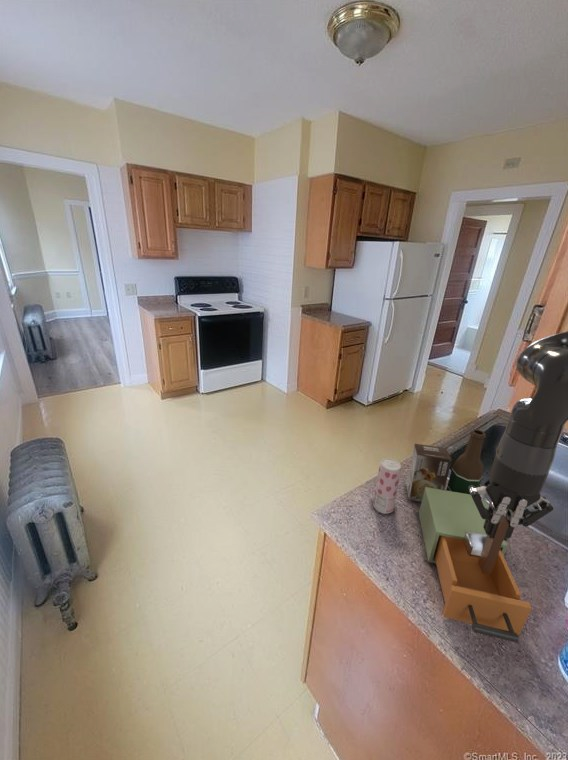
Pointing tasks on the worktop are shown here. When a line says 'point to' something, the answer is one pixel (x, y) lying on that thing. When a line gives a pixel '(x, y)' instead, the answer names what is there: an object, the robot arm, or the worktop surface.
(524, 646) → the worktop surface
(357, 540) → the worktop surface
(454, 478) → the beer bottle
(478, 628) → the drawer
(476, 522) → the cabinet
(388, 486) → the beverage can
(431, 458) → the coffee box
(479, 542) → the scoop
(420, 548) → the worktop surface
